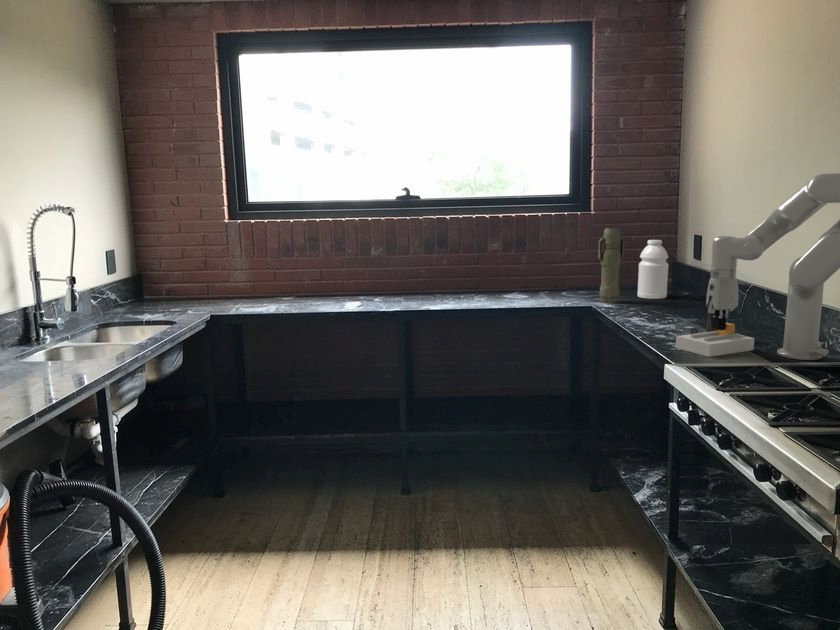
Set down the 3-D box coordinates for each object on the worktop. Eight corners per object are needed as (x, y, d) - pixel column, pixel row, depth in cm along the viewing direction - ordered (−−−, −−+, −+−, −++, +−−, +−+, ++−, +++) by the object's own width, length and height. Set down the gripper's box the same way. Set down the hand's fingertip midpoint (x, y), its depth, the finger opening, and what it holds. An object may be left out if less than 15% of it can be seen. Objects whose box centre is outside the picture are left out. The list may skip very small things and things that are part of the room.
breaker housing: (753, 350, 222) (754, 335, 222) (708, 356, 214) (709, 341, 213) (719, 341, 235) (719, 327, 234) (675, 347, 227) (676, 333, 226)
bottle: (633, 294, 342) (636, 239, 337) (661, 294, 341) (664, 239, 336) (641, 299, 328) (644, 241, 323) (670, 299, 328) (673, 241, 323)
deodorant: (714, 338, 240) (716, 296, 237) (702, 335, 246) (705, 294, 243) (728, 337, 242) (731, 296, 239) (716, 334, 247) (719, 293, 245)
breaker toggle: (734, 336, 225) (735, 324, 224) (727, 336, 224) (728, 325, 223) (724, 333, 228) (725, 322, 228) (717, 334, 227) (718, 323, 226)
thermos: (593, 300, 325) (595, 227, 318) (615, 299, 327) (618, 227, 321) (602, 303, 316) (605, 228, 310) (624, 302, 319) (628, 227, 313)
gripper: (716, 277, 214) (712, 333, 218) (749, 274, 221) (745, 329, 224) (697, 274, 221) (694, 329, 224) (730, 271, 227) (726, 325, 230)
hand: (719, 329), depth 224 cm, fingers closed
